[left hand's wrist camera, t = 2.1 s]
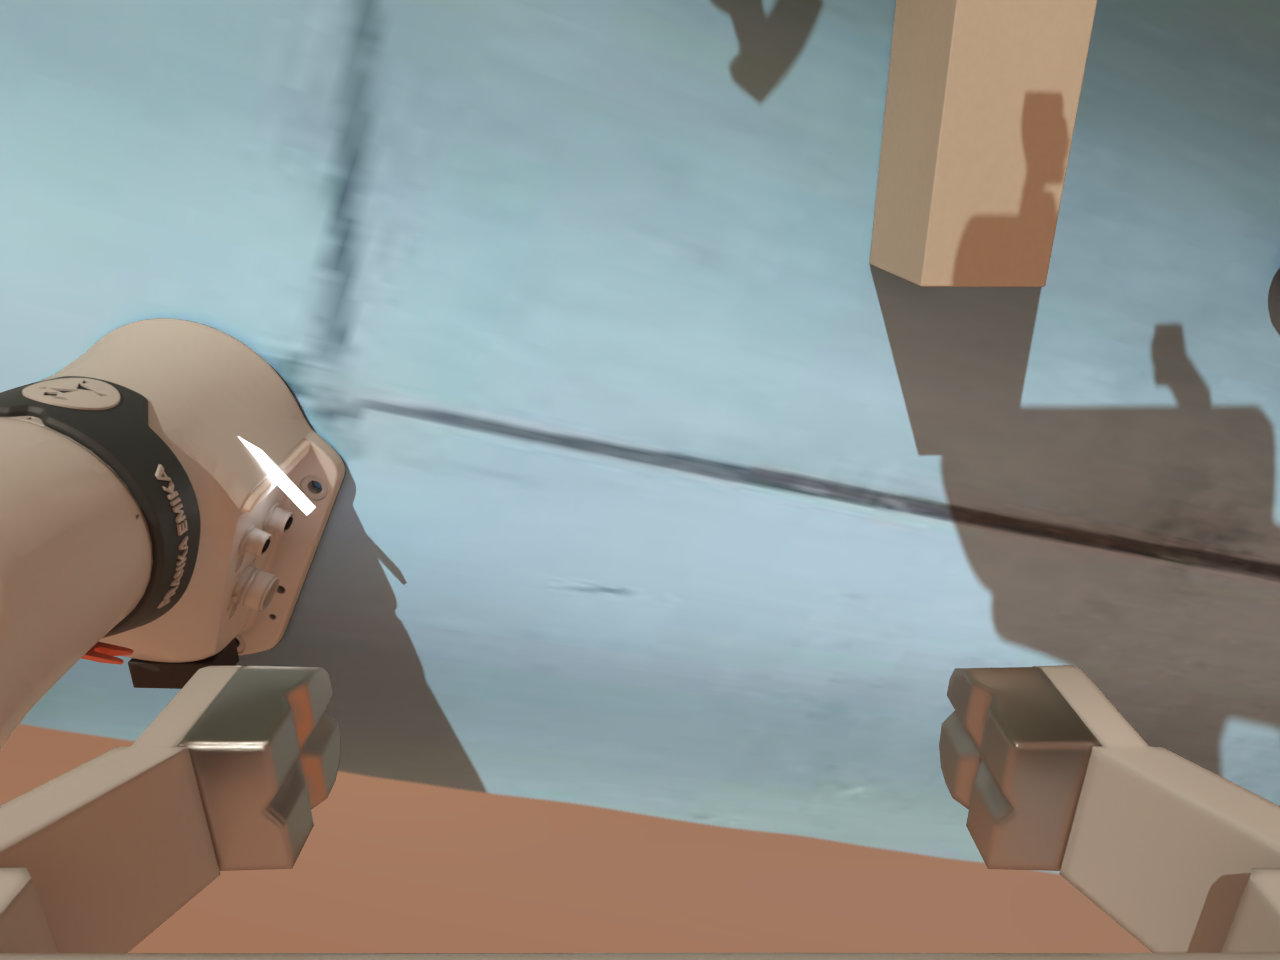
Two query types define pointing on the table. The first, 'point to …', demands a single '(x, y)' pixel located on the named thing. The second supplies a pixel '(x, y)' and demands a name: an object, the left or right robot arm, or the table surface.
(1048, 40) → the bar
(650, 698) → the table surface
